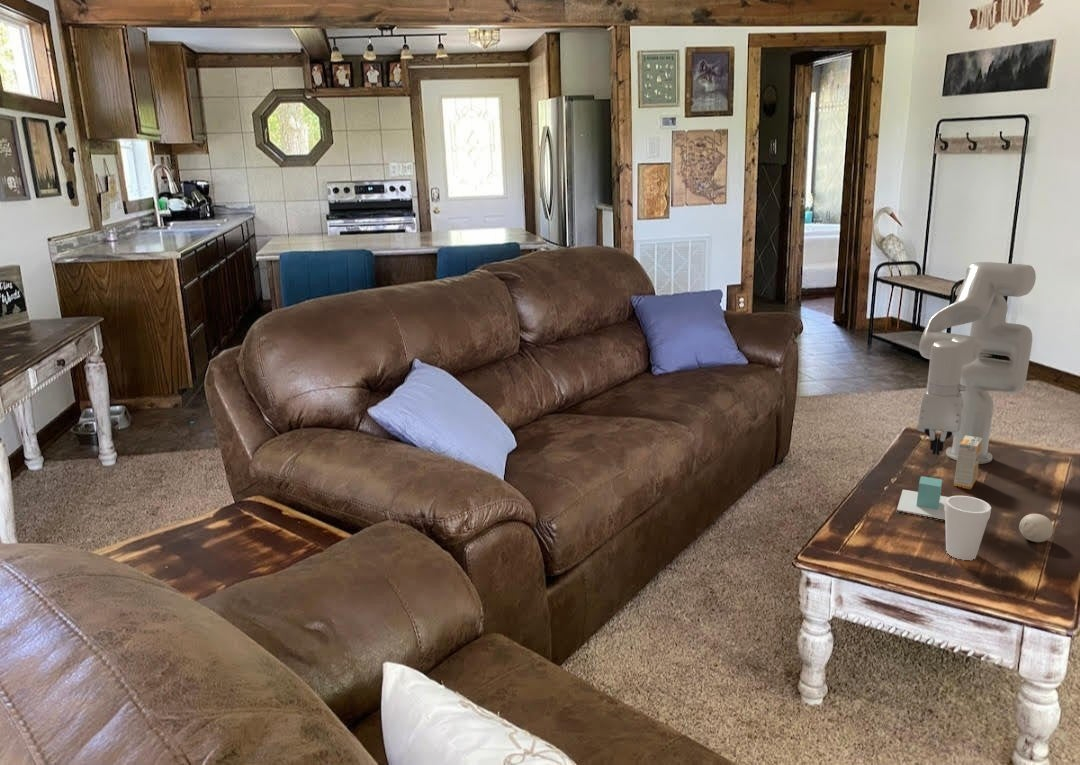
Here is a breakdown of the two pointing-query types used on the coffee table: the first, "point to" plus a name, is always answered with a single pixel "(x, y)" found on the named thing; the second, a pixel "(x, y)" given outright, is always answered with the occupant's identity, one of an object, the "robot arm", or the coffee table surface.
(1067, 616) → the coffee table surface
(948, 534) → the foam cup
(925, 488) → the teal block
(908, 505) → the white square plate
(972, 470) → the supplement box
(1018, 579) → the coffee table surface
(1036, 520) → the off-white rounded piece
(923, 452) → the coffee table surface
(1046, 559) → the coffee table surface
